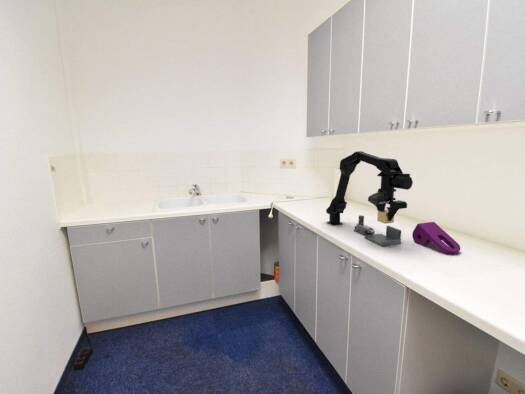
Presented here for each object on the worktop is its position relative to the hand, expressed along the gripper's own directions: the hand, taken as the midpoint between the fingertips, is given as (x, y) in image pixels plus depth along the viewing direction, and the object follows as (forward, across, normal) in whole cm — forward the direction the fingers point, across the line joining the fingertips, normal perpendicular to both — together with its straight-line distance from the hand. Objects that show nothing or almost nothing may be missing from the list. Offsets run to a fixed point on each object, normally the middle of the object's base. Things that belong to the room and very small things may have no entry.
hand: (385, 219), depth 126 cm
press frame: (+11, -7, +1) cm, 13 cm away
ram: (+10, -13, 0) cm, 16 cm away
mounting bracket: (+12, +14, +17) cm, 25 cm away
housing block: (+1, 0, 0) cm, 1 cm away
